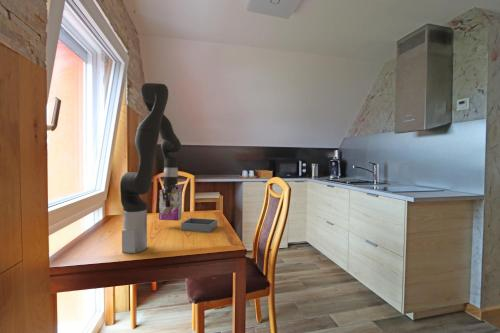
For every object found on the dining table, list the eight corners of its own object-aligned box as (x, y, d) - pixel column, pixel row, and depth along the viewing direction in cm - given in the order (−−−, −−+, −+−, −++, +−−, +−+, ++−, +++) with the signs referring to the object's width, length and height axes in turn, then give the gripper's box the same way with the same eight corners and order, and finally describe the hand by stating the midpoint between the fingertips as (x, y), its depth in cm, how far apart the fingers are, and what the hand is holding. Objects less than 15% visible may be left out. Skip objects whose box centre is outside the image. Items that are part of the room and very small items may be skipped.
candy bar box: (158, 220, 136) (158, 190, 135) (162, 217, 141) (162, 189, 140) (178, 221, 135) (178, 191, 134) (181, 218, 140) (182, 189, 139)
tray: (210, 232, 131) (210, 225, 131) (181, 230, 134) (181, 223, 134) (217, 226, 143) (217, 219, 142) (190, 224, 146) (190, 217, 145)
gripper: (170, 176, 129) (170, 209, 130) (182, 175, 144) (182, 204, 144) (157, 176, 131) (157, 208, 131) (171, 174, 145) (170, 203, 145)
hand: (170, 206), depth 138 cm, fingers closed on candy bar box, 5 cm apart
